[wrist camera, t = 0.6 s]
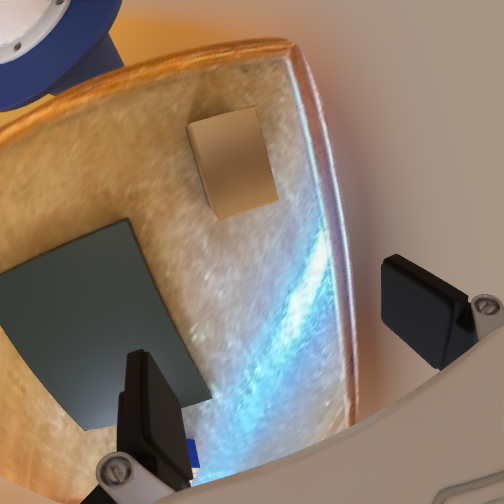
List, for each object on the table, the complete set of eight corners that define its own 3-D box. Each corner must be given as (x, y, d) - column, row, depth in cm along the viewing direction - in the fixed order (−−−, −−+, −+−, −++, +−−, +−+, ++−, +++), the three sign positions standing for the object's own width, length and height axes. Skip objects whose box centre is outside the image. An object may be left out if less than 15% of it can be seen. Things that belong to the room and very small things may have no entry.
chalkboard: (-17, 282, 21) (-22, 287, 20) (128, 216, 24) (126, 219, 23) (85, 425, 30) (84, 431, 29) (210, 392, 33) (212, 398, 32)
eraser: (185, 127, 23) (189, 122, 18) (237, 112, 23) (254, 105, 19) (208, 206, 25) (219, 220, 21) (258, 190, 26) (278, 200, 22)
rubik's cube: (186, 457, 36) (192, 483, 32) (153, 454, 35) (156, 481, 30) (194, 439, 35) (201, 468, 31) (159, 436, 33) (162, 465, 29)
